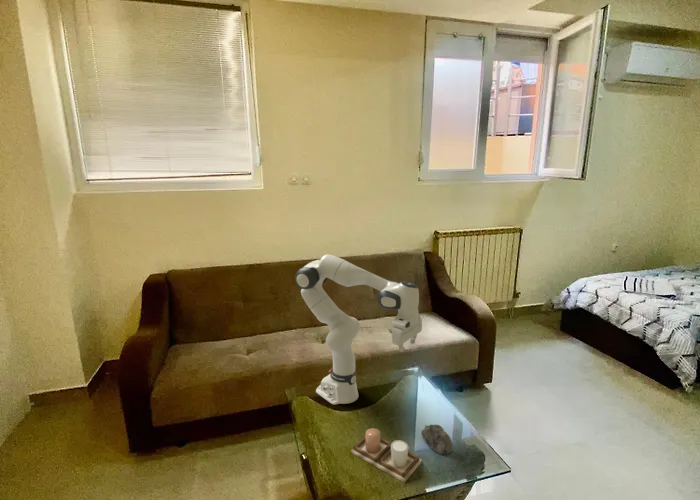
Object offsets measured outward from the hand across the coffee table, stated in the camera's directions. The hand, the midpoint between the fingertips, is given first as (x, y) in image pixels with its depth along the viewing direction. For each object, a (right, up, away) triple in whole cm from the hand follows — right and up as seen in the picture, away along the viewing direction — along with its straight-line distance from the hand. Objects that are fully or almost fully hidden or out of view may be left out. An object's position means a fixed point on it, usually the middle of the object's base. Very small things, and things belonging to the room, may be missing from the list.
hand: (407, 347), depth 175 cm
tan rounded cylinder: (-16, -37, -16) cm, 43 cm away
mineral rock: (+10, -38, -13) cm, 41 cm away
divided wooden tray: (-11, -39, -20) cm, 45 cm away
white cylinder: (-7, -39, -23) cm, 46 cm away
